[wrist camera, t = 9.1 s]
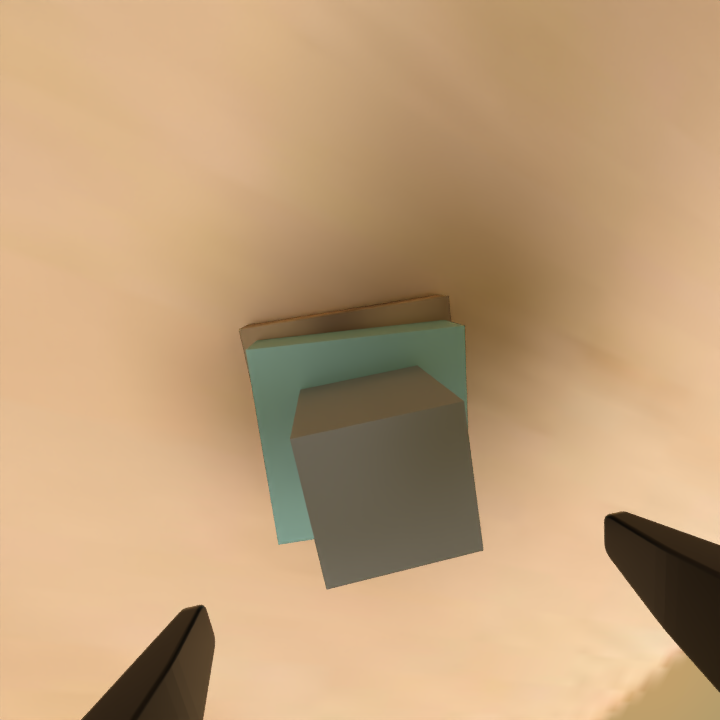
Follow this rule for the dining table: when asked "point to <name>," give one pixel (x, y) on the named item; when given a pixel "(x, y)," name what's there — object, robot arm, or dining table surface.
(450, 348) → the tower top
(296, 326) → the tower bottom
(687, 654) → the robot arm
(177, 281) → the dining table surface
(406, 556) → the grey cube
